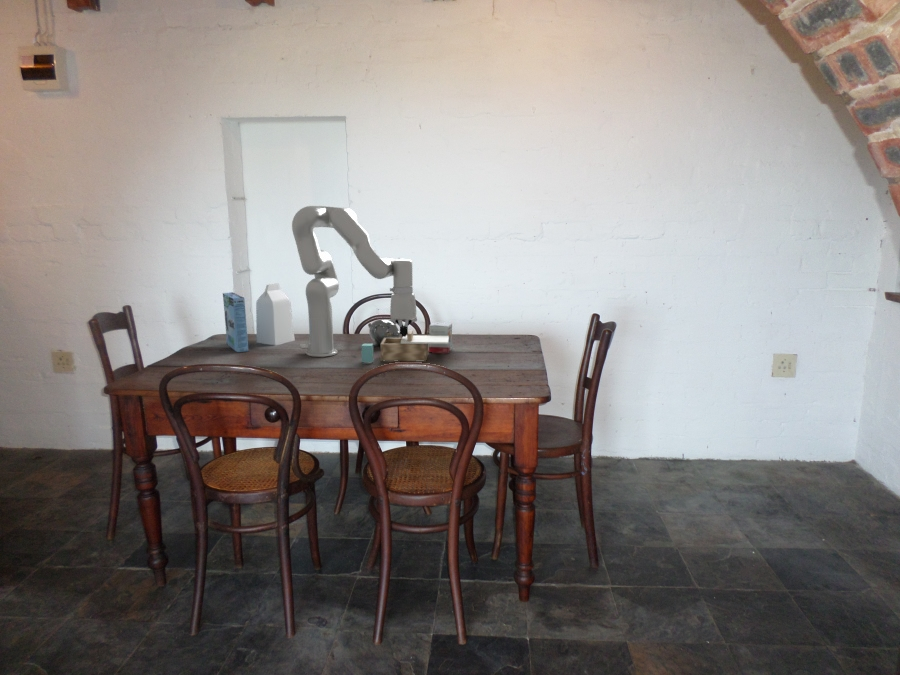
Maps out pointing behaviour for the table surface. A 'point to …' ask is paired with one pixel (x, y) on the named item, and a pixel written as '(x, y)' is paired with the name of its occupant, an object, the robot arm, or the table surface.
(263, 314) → the milk
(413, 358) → the tan open box
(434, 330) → the ink box
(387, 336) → the piggy bank
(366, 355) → the block
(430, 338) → the lid
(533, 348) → the table surface
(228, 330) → the blue cereal box
